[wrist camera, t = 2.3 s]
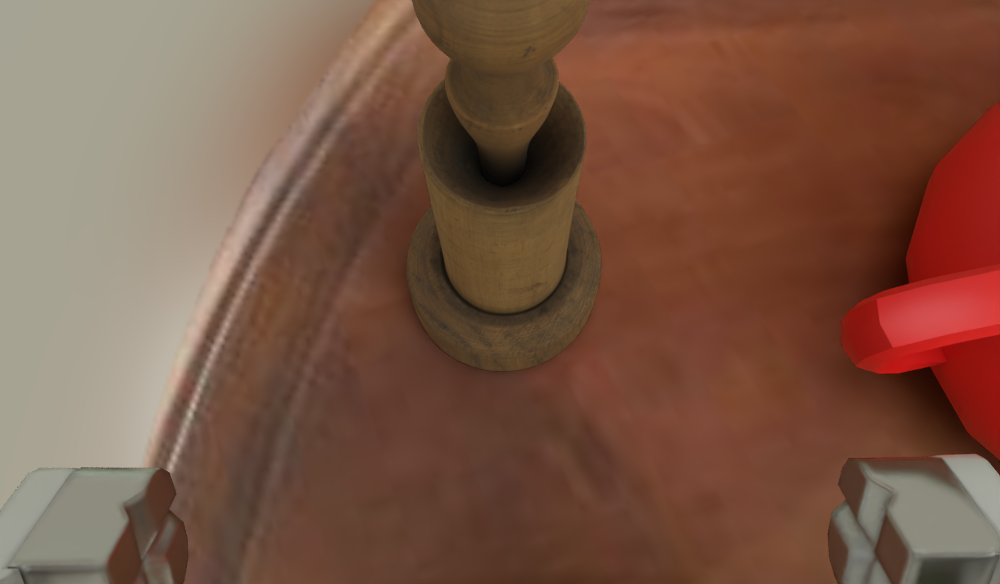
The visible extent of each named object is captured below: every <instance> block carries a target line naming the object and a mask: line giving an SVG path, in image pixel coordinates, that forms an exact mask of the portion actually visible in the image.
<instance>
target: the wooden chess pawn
mask: <svg viewBox="0 0 1000 584" xmlns="http://www.w3.org/2000/svg"><path fill="white" fill-rule="evenodd" d="M412 2H413V6H414V10H415V12H416V15H417V18H418V20H419V22H420V24H421V26H422V28H423V29H424V31H425V32H426V34H427V35H428V37H429V38H430V39H431V41H432V42H433V43H434V44H435V45H436V46H437V47H438V48H439V49H440V50H441V51H442V52H443V53H445V54H446V55H447V56H448V57H450V58H451V59H450V61H449V64H448V66H447V70H446V74H445V79H444V80H443V81H442V82H441V83H440V84H439V85H438V86H437V87H436V88H435V89H434V90H433V92H432V93H431V94H430V96H429V97H428V99H427V101H426V103H425V105H424V107H423V109H422V112H421V115H420V120H419V125H418V148H419V153H420V158H421V162H422V167H423V171H424V175H425V179H426V183H427V187H428V191H429V196H430V200H431V207H430V208H429V209H428V210H427V211H426V212H425V214H424V215H423V217H422V218H421V220H420V221H419V223H418V225H417V227H416V229H415V231H414V233H413V236H412V238H411V241H410V245H409V249H408V254H407V264H406V273H407V283H408V288H409V292H410V295H411V298H412V301H413V304H414V307H415V310H416V313H417V315H418V318H419V320H420V322H421V324H422V326H423V327H424V329H425V331H426V332H427V334H428V335H429V336H430V338H431V339H432V340H433V341H434V342H435V344H436V345H437V346H438V347H439V348H441V349H442V350H443V351H444V352H445V353H447V354H448V355H450V356H451V357H453V358H454V359H456V360H458V361H460V362H462V363H464V364H467V365H469V366H472V367H476V368H479V369H484V370H490V371H515V370H522V369H526V368H530V367H533V366H536V365H539V364H541V363H543V362H545V361H547V360H549V359H551V358H553V357H554V356H556V355H557V354H559V353H560V352H561V351H563V350H564V349H565V348H566V347H567V346H568V345H569V344H570V343H571V342H572V341H573V340H574V339H575V338H576V337H577V336H578V334H579V333H580V331H581V330H582V328H583V327H584V325H585V324H586V322H587V320H588V318H589V316H590V313H591V311H592V308H593V305H594V302H595V298H596V295H597V292H598V288H599V284H600V278H601V267H602V260H601V250H600V244H599V240H598V237H597V234H596V231H595V229H594V226H593V224H592V222H591V220H590V219H589V217H588V215H587V214H586V212H585V211H584V209H583V208H582V207H581V206H580V204H579V203H578V202H577V201H576V200H575V198H576V193H577V188H578V183H579V178H580V174H581V169H582V165H583V160H584V154H585V149H586V128H585V122H584V118H583V115H582V112H581V110H580V108H579V106H578V104H577V102H576V101H575V99H574V98H573V96H572V95H571V94H570V92H569V91H568V90H567V89H566V88H565V86H563V85H562V84H561V83H560V82H559V75H558V70H557V66H556V64H555V61H554V59H553V58H552V57H554V56H555V55H556V54H558V53H559V52H560V51H561V50H562V49H563V48H564V47H565V46H566V45H567V44H568V43H569V42H570V41H571V39H572V38H573V37H574V36H575V34H576V33H577V32H578V30H579V28H580V26H581V25H582V23H583V21H584V19H585V16H586V14H587V11H588V8H589V5H590V0H412Z"/></svg>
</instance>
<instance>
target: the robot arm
mask: <svg viewBox="0 0 1000 584" xmlns="http://www.w3.org/2000/svg"><path fill="white" fill-rule="evenodd" d="M838 485H839V487H840V489H841V491H842V493H843V494H844V496H845V498H846V500H845V501H844V502H843V503H842V504H841V505H840V506H839V507H837V508H836V509H835V510H834V511H833V512H832V513H831V519H830V524H829V530H828V548H829V558H830V562H831V566H832V570H833V573H834V576H835V578H836V580H837V583H838V584H1000V475H999V474H998V473H997V472H996V470H995V469H994V468H993V467H992V465H991V464H990V463H989V462H988V461H987V460H986V459H985V458H983V457H981V456H979V455H977V454H959V455H934V456H932V457H882V458H848V460H847V461H846V463H845V464H844V466H843V467H842V471H841V475H840V479H839V483H838ZM175 496H176V491H175V488H174V485H173V481H172V478H171V475H170V473H169V472H168V471H166V470H164V469H162V468H80V469H78V468H39V469H37V470H35V471H33V472H31V473H29V474H28V475H27V476H26V477H25V478H24V480H23V481H22V482H21V484H20V485H19V486H18V488H17V489H16V490H15V492H14V493H13V494H12V495H11V497H10V498H9V500H8V501H7V502H6V503H5V505H4V506H3V507H2V509H1V510H0V584H183V583H184V580H185V574H186V568H187V562H188V539H187V534H186V530H185V526H184V522H183V521H182V520H180V519H179V518H178V517H177V516H176V515H175V514H173V513H172V512H171V511H170V510H169V508H170V506H171V504H172V502H173V500H174V498H175Z"/></svg>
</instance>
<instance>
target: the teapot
mask: <svg viewBox="0 0 1000 584" xmlns="http://www.w3.org/2000/svg"><path fill="white" fill-rule="evenodd" d="M906 265H907V272H908V279H909V284H907V285H903V286H899V287H895V288H892V289H888V290H884V291H882V292H880V293H878V294H875V295H873V296H871V297H868V298H866V299H864V300H862V301H860V302H859V303H858V304H857V305H856V306H855V307H853V308H852V309H851V310H850V311H849V312H848V313H847V314H846V315H845V317H844V318H843V319H842V320H841V346H842V347H843V349H844V350H845V352H846V353H847V355H848V356H849V358H850V359H851V361H852V362H853V364H854V365H855V366H856V367H858V368H861V369H863V370H867V371H871V372H874V373H902V372H907V371H911V370H916V369H921V368H925V367H930V368H931V369H932V371H933V373H934V375H935V376H936V378H937V380H938V382H939V383H940V385H941V387H942V389H943V390H944V392H945V394H946V396H947V397H948V399H949V401H950V403H951V404H952V406H953V408H954V410H955V411H956V413H957V415H958V417H959V419H960V420H961V422H962V424H963V426H964V427H965V429H966V431H967V433H968V434H969V435H971V436H972V437H973V438H974V439H975V440H976V441H978V442H979V443H980V444H981V445H982V446H983V447H984V448H986V449H987V450H988V451H989V452H990V453H991V454H993V455H994V456H995V457H996V458H997V459H998V460H999V461H1000V102H999V103H997V104H996V105H994V106H993V107H991V108H989V109H988V111H987V112H986V113H985V114H984V115H983V116H982V117H981V118H980V119H979V120H978V121H977V122H976V123H975V124H974V125H973V127H972V128H971V129H970V130H969V131H968V132H967V133H966V134H965V135H964V136H963V137H962V138H961V139H960V140H959V141H958V143H957V144H956V145H955V146H954V147H953V148H952V149H951V150H950V151H949V152H948V153H947V154H946V155H945V156H944V157H943V159H942V160H941V161H940V162H939V163H938V164H937V165H936V166H935V169H934V171H933V173H932V175H931V178H930V180H929V182H928V184H927V187H926V191H925V194H924V197H923V201H922V204H921V208H920V211H919V214H918V218H917V221H916V224H915V228H914V231H913V235H912V238H911V241H910V245H909V248H908V251H907V255H906Z"/></svg>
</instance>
